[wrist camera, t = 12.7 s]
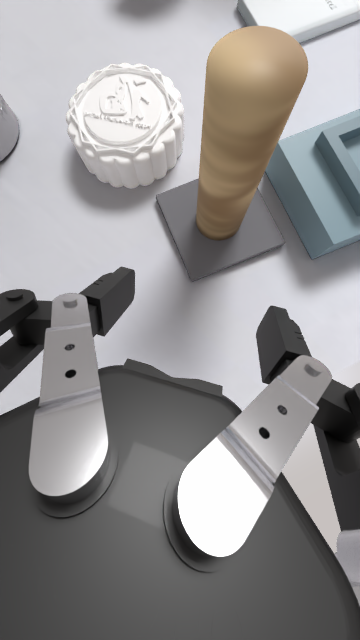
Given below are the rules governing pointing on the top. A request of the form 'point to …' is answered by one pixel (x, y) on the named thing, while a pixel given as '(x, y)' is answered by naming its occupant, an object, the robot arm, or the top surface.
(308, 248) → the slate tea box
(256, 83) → the oak stopper
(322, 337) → the top surface
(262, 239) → the grey rubber coaster
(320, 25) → the external hard drive
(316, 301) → the top surface
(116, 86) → the mooncake
